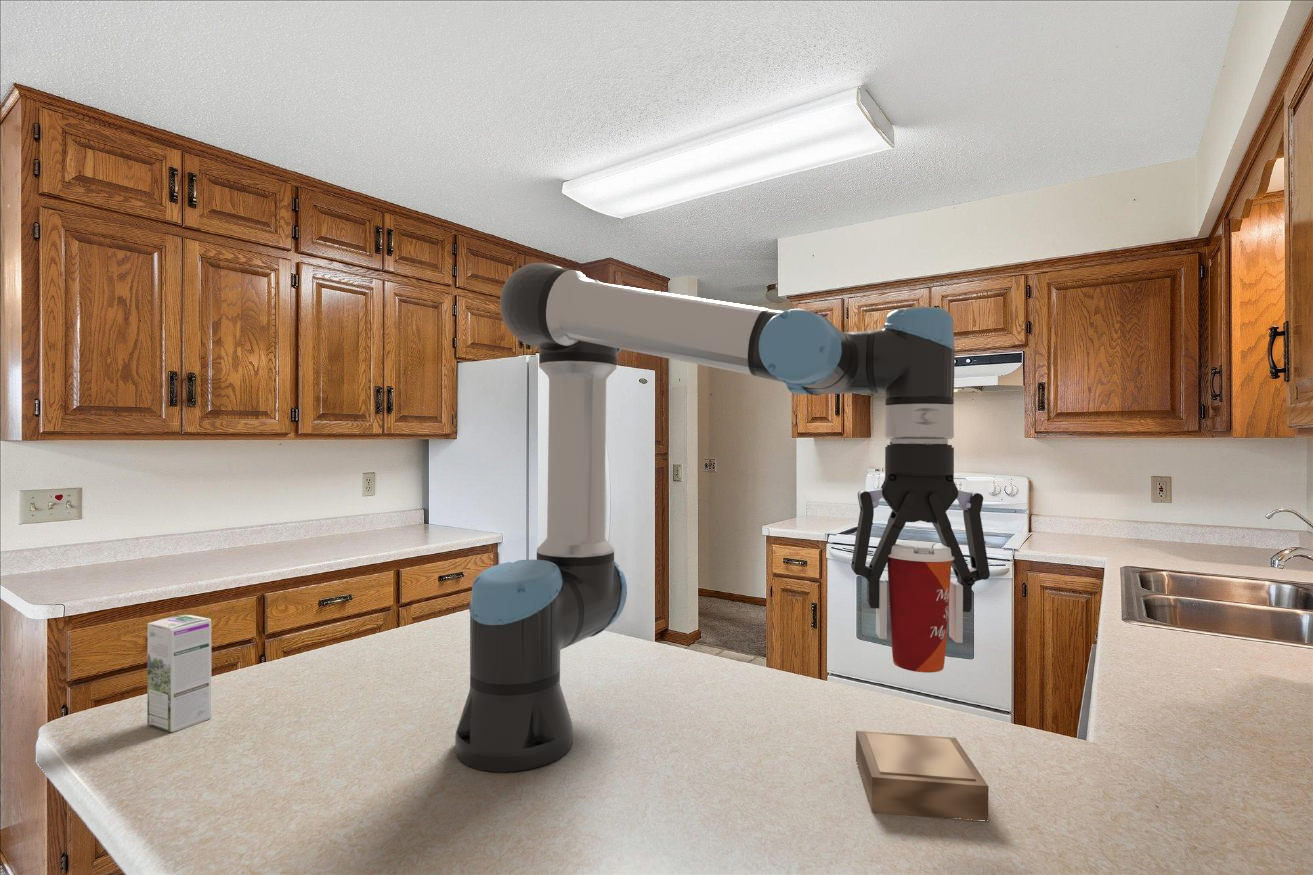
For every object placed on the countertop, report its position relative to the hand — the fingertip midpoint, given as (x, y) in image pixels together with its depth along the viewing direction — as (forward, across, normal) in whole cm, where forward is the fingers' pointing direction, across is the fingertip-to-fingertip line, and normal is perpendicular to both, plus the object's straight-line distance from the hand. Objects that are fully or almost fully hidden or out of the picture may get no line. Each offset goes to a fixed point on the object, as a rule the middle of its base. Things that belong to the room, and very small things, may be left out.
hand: (918, 637), depth 79 cm
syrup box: (+18, -99, +2) cm, 101 cm away
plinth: (+18, 0, 0) cm, 18 cm away
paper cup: (+3, 0, 0) cm, 3 cm away
